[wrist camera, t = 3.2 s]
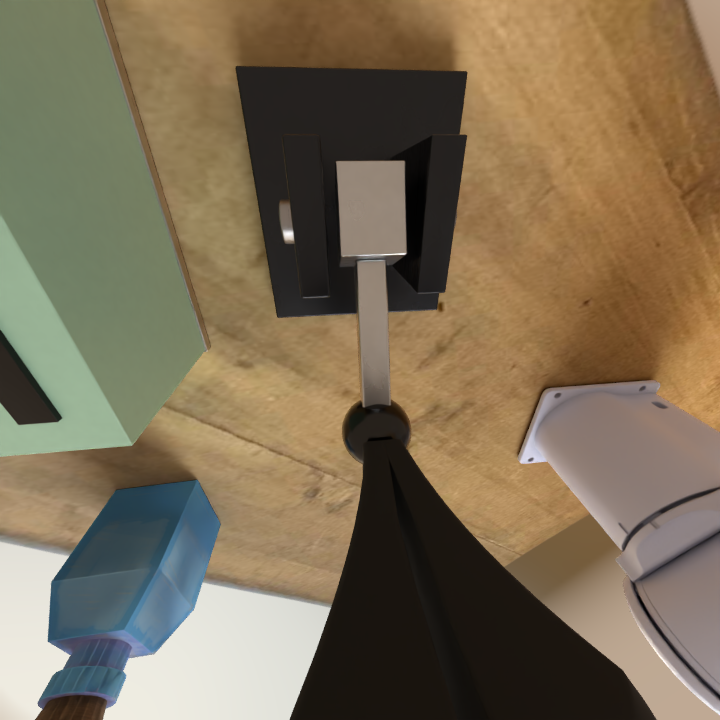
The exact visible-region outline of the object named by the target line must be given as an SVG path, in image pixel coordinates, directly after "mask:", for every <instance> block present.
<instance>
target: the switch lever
mask: <svg viewBox="0 0 720 720" xmlns="http://www.w3.org/2000/svg"><path fill="white" fill-rule="evenodd" d="M335 208H336V225H337V243H338V260H339V267H354V276H355V297H356V317H357V337H358V358H359V378H360V399H361V400H360V401H358V402H357V403H355V404H354V405H353V406H352V407H351V408H350V409H349V410H348V412H347V414H346V416H345V418H344V421H343V425H342V438H343V442H344V445H345V447H346V449H347V451H348V452H349V454H350V455H351V456H352V457H353V458H354V459H355V460H356V461H358V462H359V463H361V464H363V444H364V443H365V442H369V441H380V440H391V439H400V440H402V442H403V443H404V445H405V447H406V449H407V448H408V446H409V443H410V439H411V425H410V421H409V418H408V416H407V414H406V413H405V411H404V410H403V408H402V407H401V406H400V405H399V404H397V403H396V402H394V401H393V400H391V393H390V359H389V325H388V290H387V265H393V264H394V263H395V262H397V261H398V260H400V259H401V258H402V257H404V256H405V255H406V254H407V215H406V162H405V161H336V162H335Z"/></svg>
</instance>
